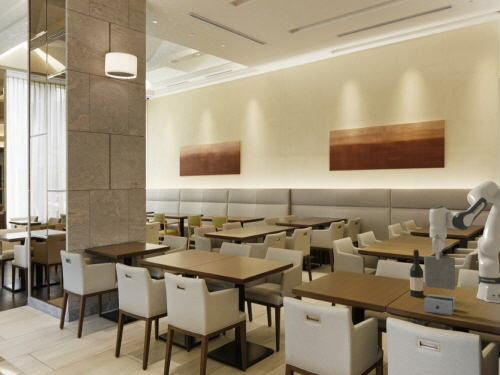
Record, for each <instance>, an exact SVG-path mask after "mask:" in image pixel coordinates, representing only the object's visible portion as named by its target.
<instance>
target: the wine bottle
mask: <svg viewBox="0 0 500 375" xmlns="http://www.w3.org/2000/svg"><path fill="white" fill-rule="evenodd" d="M412 252H413V254H412V255H413V263H412V265H411V267H410V268H409V290H410V291H409V292H410V293H409V295H410V297H413V298H423V297H424V298H425V296H424V270H423V268H422V267H421V265H420V251H419V249H416V248H415V249H413V251H412Z"/></svg>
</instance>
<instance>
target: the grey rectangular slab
mask: <svg viewBox="0 0 500 375" xmlns="http://www.w3.org/2000/svg"><path fill="white" fill-rule="evenodd" d="M443 254H444V252H440V253H439V256H440V259H436V255H424V257H423V260H424V262H423V263H424V265H423V266H424V287H426V288H437V289H445V290H452V291H455V290H456V260H455V259H456V258H455V257H450V256H446V255H445V256H444V255H443Z"/></svg>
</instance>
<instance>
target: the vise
mask: <svg viewBox="0 0 500 375" xmlns="http://www.w3.org/2000/svg"><path fill="white" fill-rule="evenodd" d="M454 311H455V297H454V296H450V295H449V296H448V295H442V294H441V295H439V294H431V293H427V295H426V297H424V298H423V312H425V313H431V314H439V315H445V316H452V315H453V312H454Z"/></svg>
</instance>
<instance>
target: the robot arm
mask: <svg viewBox="0 0 500 375" xmlns="http://www.w3.org/2000/svg"><path fill="white" fill-rule="evenodd" d="M466 198H467V199H466V200H467V202H468V203H469V205H470V207H469V208H468V209H467V210H466V211H465V210H464V211H453V210H449V209H448V208H446V206H444V205H435V206H433V207H431V208H430V209H429V214H428V215H429V216H428V217H429V225H430V226H429V238H431V243H432V244H431V251H432V253H434V256H436V259H440V256H439V253H440V252H441V253H443V252H442V251H443V250H444V248H445V243H446V239H447V237H448V236H447V233H448V232H447V231H448V230H447V228H450V229H456V230H460V231H467V230H469V229H470V228H471V226H472V225H473V223H474V221H475V220H476V219H477V218H478V217H479V215H481V213H483V211H484V210H485V209H486V208H487V207H488V203H492V204H493V205H492V206H491V209H490V211H489V213H488V217H487V219H486V222H485V224H484V229H483V233H482V235H481V236H480V238H478V239H477V256H478V275H477V284H478V290H477V295H476V296H475V297H476V299H479V300H481V301H485V302H486V303H496V304H500V260H499V253H500V185H498V184H497V183H496V182H494V181H492V180H486V181H483V182H481V183H480V184H478V185H476V186H475V187H474V188H473V189H471V190H470V191H469V192H468V194H467V197H466Z"/></svg>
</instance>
